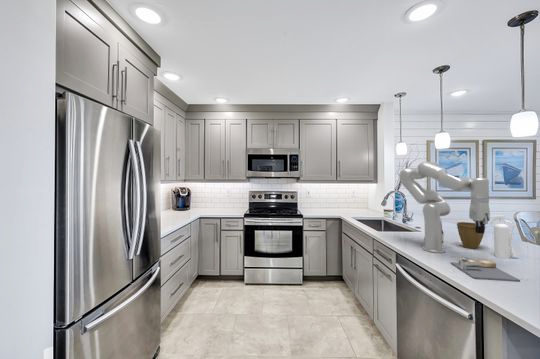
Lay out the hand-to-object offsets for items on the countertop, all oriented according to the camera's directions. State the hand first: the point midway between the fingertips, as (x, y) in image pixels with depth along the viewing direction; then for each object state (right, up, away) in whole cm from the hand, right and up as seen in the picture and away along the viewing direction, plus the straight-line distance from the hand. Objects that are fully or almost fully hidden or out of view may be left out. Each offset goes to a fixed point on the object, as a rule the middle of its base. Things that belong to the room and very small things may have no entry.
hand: (480, 232), depth 131 cm
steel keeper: (-14, -17, -10) cm, 24 cm away
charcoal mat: (-9, -17, -11) cm, 23 cm away
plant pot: (+20, -17, +29) cm, 39 cm away
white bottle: (+23, -17, +10) cm, 30 cm away
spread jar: (+6, -17, +46) cm, 49 cm away
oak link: (-7, -16, -6) cm, 18 cm away
